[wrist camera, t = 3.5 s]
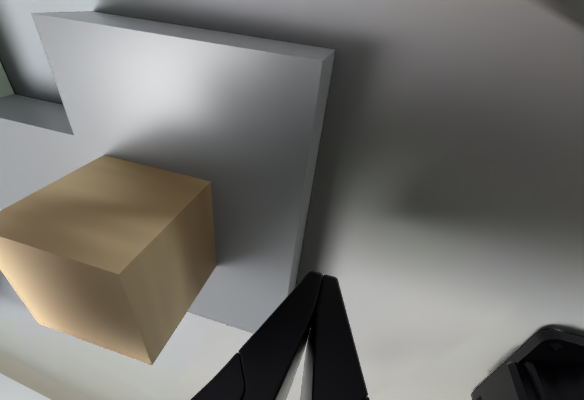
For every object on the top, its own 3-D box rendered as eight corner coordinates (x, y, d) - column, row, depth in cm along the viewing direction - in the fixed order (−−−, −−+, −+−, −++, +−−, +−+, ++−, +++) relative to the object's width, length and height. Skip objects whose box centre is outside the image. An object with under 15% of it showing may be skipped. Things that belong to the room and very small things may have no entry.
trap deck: (335, 49, 8) (322, 61, 7) (291, 306, 15) (280, 342, 14) (-135, -25, 11) (-223, -29, 9) (10, 220, 18) (-27, 241, 16)
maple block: (210, 181, 9) (118, 274, 6) (216, 266, 12) (152, 365, 9) (103, 154, 10) (-31, 227, 7) (129, 240, 12) (38, 323, 9)
